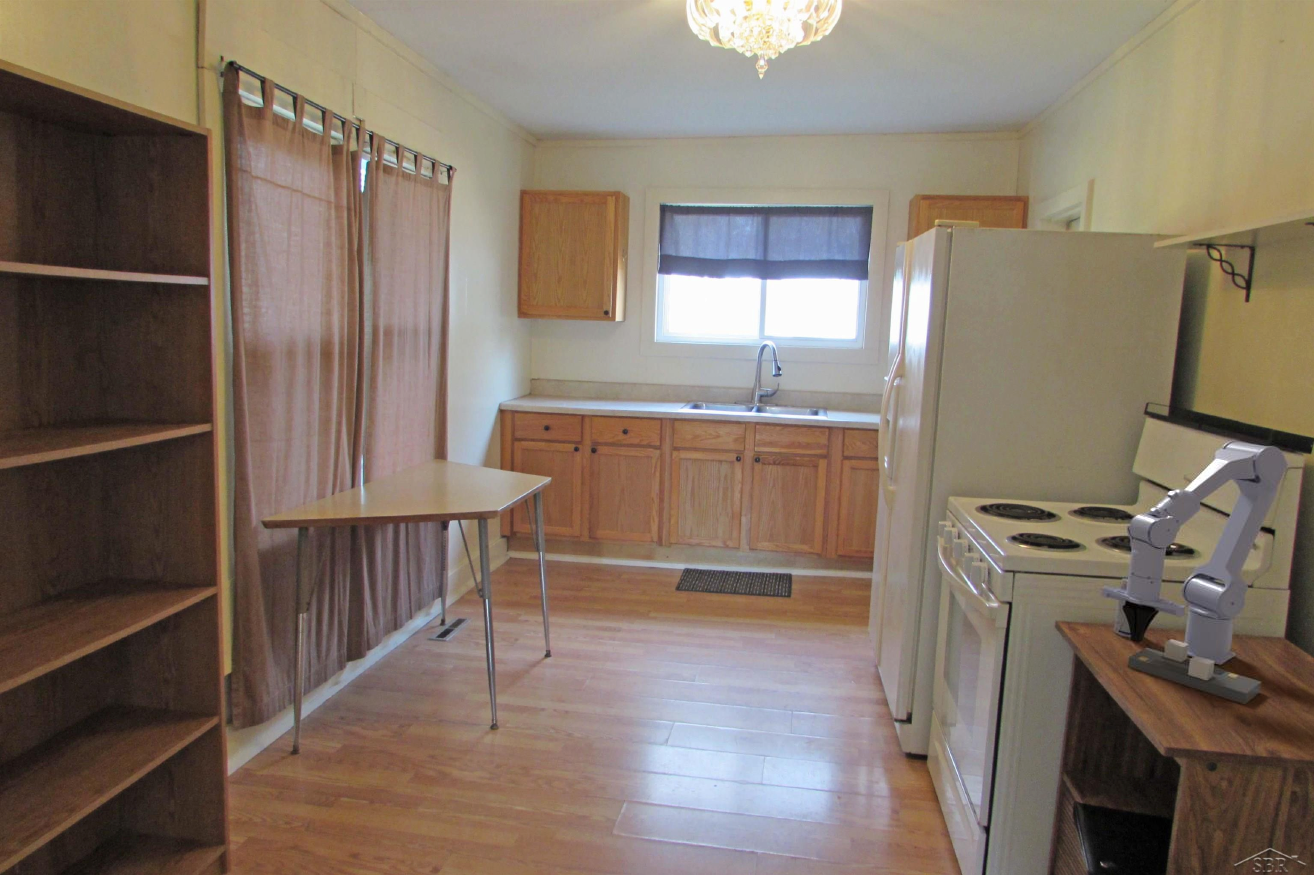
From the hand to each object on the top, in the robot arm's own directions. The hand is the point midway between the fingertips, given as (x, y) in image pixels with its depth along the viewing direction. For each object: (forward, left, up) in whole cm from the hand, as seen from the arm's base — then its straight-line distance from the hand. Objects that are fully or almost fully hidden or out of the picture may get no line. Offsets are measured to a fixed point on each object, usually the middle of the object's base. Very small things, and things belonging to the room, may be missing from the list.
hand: (1136, 640), depth 161 cm
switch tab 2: (+6, +13, -1) cm, 14 cm away
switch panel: (+3, +11, -3) cm, 12 cm away
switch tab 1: (0, +7, -1) cm, 7 cm away
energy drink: (-13, -6, -3) cm, 15 cm away
